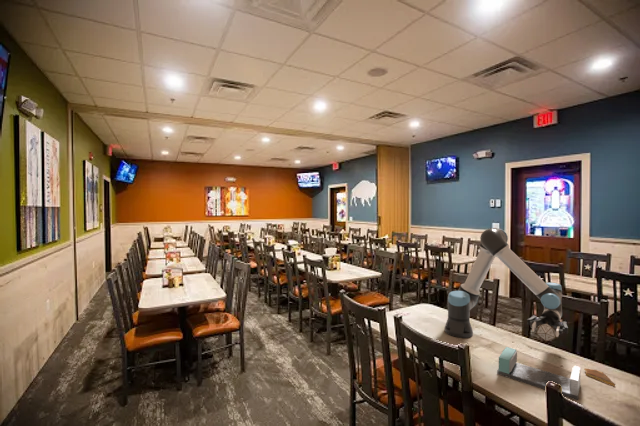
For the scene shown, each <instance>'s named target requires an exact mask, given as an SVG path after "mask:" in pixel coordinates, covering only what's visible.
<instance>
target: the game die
mask: <svg viewBox="0 0 640 426" xmlns="http://www.w3.org/2000/svg"><path fill="white" fill-rule="evenodd" d="M536 328H537V329H536V332H534V335H537V336H538V337H539V339H542V340H544V343H547V342H550V341H551V342H554V341H555V339H558V337H556V329H555V328H553V326H552V327H551V326H550V325H548V323H546V324H542V325H541V324H539V325H538V326H536Z"/></svg>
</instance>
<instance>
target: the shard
mask: <svg viewBox="0 0 640 426" xmlns="http://www.w3.org/2000/svg"><path fill="white" fill-rule="evenodd" d="M583 370H584V371H585V373H584V374H585V376H587V377H590V378H593V379H595V380H597V381H599V382H602V383H604V384H607V385H609V384H610V386H612V385H613V386H612V387H615V386H616V383H615V382H613V381H612V380H611V379H610V377H608V375H607V374H605V373H604V372H603V371H600V370H597V369H593V368H583Z"/></svg>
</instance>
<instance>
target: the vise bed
mask: <svg viewBox="0 0 640 426" xmlns="http://www.w3.org/2000/svg"><path fill="white" fill-rule="evenodd" d="M496 373H497V375H499V376H502V377H506V378H509V379H512V380H515V381H518V382H521V383H524V384H527V385H530V386H533V387H537V388H539V389H543V390H545V386H546V383H547V382H548V381H553V382H555V383H557V384H560V385H561V387H562V394H563V395H564V396H563V395H562V396H563V397H566V398H570V399H571V400H572V399H573V400H576V401H579V395H580V387H581V366H578V365H573V366H572V368H571V374H570V377H567V376H563V375H560V374H557V373H554V372H550V371H546V370H542V369H540V368H536V367H532V366H531V365H530V366H529V365H526V364H523V363H521V362H520V363H519V362H516V364H515V365H514V367H513V369H512V371H511V372H510V373H509V374H507V373H504V372H501V371H499V368H498V369H497V371H496Z"/></svg>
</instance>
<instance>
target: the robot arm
mask: <svg viewBox="0 0 640 426" xmlns="http://www.w3.org/2000/svg"><path fill="white" fill-rule="evenodd" d="M479 237H480V238H479V240H480V244H479V248H480V250H479V252H478V253H477V256H476V258H475V260H474V263H473V264H472V266H471V269H470V271H469V272H468V275H467V278H466V279H465V282H464V283H461V284H460V285H459V288H458V289H457V290H452V291H450V292H449V293H448V297H447V320H446V323H445V325H444V332H445V334H447V335H449V336H452V337H455V338H462V339H463V338H464V339H468V338H471V337H473V335H474V330H473V328H472V324H471V321H470V317H471V316H470V315H471V314H470V312H471V310H472V309H473V308H475V306H476V305H477V304H478V301H479V297H480V295H481V292H480V288H481V286H482V284H483V283H484V280H485V279H486V276H487V275H488V272H489V270H490V268H491V267H492V264H493V262H494V260H495V258H498V260H500V261H501V262H502V263H503V265H504V266H505V267H506V268H507V269H509V270H510V271H511V272H512V273H513V274H514V275H515V276H516V277H517V279H519V281H521V283H522V284H524V285H525V286H526V287H527V289H529V290H530V291H531V292H532V293H533V295H535V296H536V297H537V298H538V299H539V301H540V303H541V304H542V306H543V312H542V314H541V316H539V317H537V316H536V315H535V314H533V315H532V316H531V317H529V318H527V319H526V320H527V323H526V325H528V326H530V328H531V331H532V332H535V331H536V328H537V327H539V326H540V325H539V324H541V325H542V324H546V323H548V325H550V326H551V327H552V326H553V329H555V331H556V338H559V335H563V333H565V334H568V333H569V327H568V322H567V321H566V320H565V321H561V318H562V317H563V307H562V306H563V304H562V301H563V300H562V299H563V290H562V289H563V288H562V285H561V284H560V283H557V282H556V283H555V282H545V281H544V280H543V279H542V278H541V277H540V276H539V275H538V274H537V273H535V271H533V270H532V268H530V267H529V265H527V264H526V262H524V261H523V260H522V259H521V258H520V257H519V256H518V255H517V254H516V253H515V252H514V251H513V250H512V249H510V245H509V244H508V243H507V242H508V239H509V236H508V233H507V232H506V231H505V230H504V229H502V228H499V227H491V228H488V229H485V230H484V231H483V232H482V233H481V235H480V236H479ZM536 326H537V327H536Z"/></svg>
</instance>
